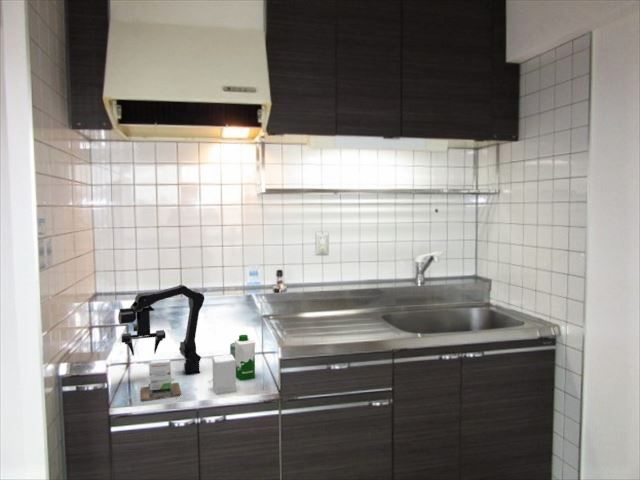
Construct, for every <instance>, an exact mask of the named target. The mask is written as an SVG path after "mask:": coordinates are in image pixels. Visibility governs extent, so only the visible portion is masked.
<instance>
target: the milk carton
mask: <svg viewBox="0 0 640 480" xmlns="http://www.w3.org/2000/svg"><path fill="white" fill-rule="evenodd" d="M234 343H235V360H236V379H238V380H239V381H246V380H252V379H255V378H256V350H255V349H256V342H255V341H254V340H253V339H251V338H250V337H249V336H248V334H240V335H238V339H235V340H234Z"/></svg>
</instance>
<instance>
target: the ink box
mask: <svg viewBox="0 0 640 480" xmlns="http://www.w3.org/2000/svg"><path fill="white" fill-rule="evenodd" d="M171 365H172V364H171V359H158V360H157V359H156V360H155V359H154V360H153V359H151V360H150V362H149V363H148V368H149V369H148V370H149V371H148V373H149V384H150V390H159V389H170V388H171V383H172V368H171Z"/></svg>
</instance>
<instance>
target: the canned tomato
mask: <svg viewBox="0 0 640 480" xmlns="http://www.w3.org/2000/svg"><path fill="white" fill-rule="evenodd" d="M229 347H230V348H229V350H230V353H229V355H233V357H234V359H235V342H231V343H230V345H229Z"/></svg>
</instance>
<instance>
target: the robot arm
mask: <svg viewBox="0 0 640 480" xmlns="http://www.w3.org/2000/svg"><path fill="white" fill-rule="evenodd" d="M179 295H183V296H184V297H187V298H188V301H187V302H188V303H187V304H188V308H189V312H188V317H187V325H186V331H185V332H186V333H185V337H184V339H183V341H179V348H178V350H179V353H180V355H181V356H183V357H184V359H185V360H184V361H185V362H184V363H183V364H184V365H183V369H184V373H185V375H187V376H188V375H197V374H200V373H201V370H200V362H201V360H202V359H201V358H202V356H200V355H199V354H198V353H197V346H196V344H197V343H196V332H197V327H198V320H199V313H200V311H201V309H202V307H203V306H204V301H205V296H204V294H203V293H201V292H198V291H196V290H195V291H194V290H192V289H190V288H188V287H187V286H186V285H184V284H179V285H176V286H173V287H170V288H165V289H163V290H159V291H153V292H151V291H150V292H141V293H138V294H136V296H135V298H134V302H133V303H132V304H131V306H130V307H128V308H119V311H118V315H117V317H118V319H117V321H118V323H119V325H125V324H130V323H131V324H132V323H135V322H136V324H133V332H136V334H132V333H131V332H126V333H122V334H121V343H122V344H124V345H127V346H128V348H129V350H130V352H131V355H132V357H134V356H135V352H134V346H133V340H140V339H149V338H155V340H154V349H153V351H154V352H153V353H154V355H155V354H156V353H157V349H158V348H159V345H160V343H161V341H163V340H165V339H166V331H165V330H164V329H162V330H161V329H160V330H155V332H153V333H151V312H152V311H153V312H154V311H155V308H153V307H152V305H154V304H155V303H157V302H159V301H162V300H166V299H170V298H173V297H177V296H179Z"/></svg>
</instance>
